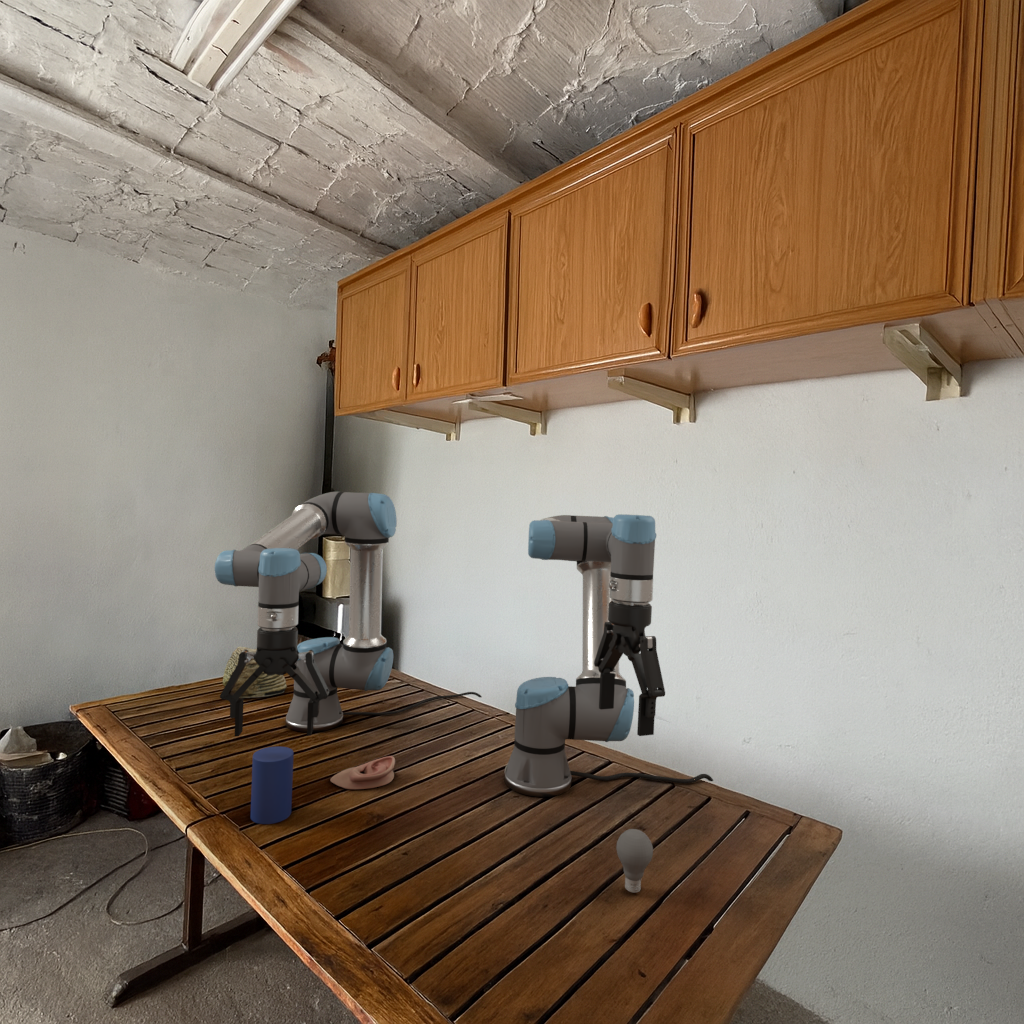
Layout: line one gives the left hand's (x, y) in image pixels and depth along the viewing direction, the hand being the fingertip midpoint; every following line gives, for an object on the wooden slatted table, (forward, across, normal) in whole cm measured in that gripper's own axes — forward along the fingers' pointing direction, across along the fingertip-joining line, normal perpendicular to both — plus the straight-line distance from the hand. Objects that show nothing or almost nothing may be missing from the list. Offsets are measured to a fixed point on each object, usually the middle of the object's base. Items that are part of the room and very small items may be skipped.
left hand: (274, 733), depth 126 cm
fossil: (+17, -22, +76) cm, 81 cm away
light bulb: (+16, +64, -30) cm, 73 cm away
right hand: (-10, +64, -22) cm, 69 cm away
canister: (+16, 0, 0) cm, 16 cm away
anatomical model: (+16, +16, +14) cm, 27 cm away
